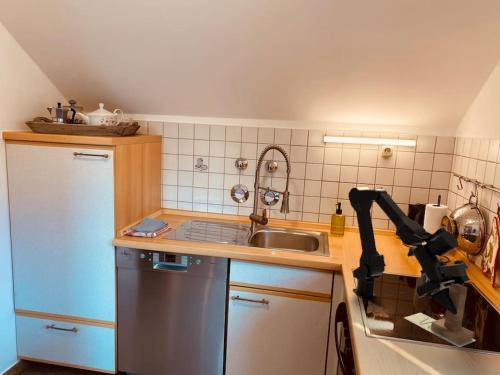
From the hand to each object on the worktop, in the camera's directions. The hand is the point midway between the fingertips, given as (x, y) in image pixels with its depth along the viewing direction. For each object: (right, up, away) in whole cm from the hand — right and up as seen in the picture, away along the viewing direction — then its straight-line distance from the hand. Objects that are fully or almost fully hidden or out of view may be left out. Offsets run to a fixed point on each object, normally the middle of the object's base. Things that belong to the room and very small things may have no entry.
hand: (459, 312), depth 110 cm
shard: (-20, -6, +16) cm, 26 cm away
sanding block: (-1, -7, +2) cm, 8 cm away
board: (-3, -8, +6) cm, 10 cm away
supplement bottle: (+9, -4, +39) cm, 40 cm away
